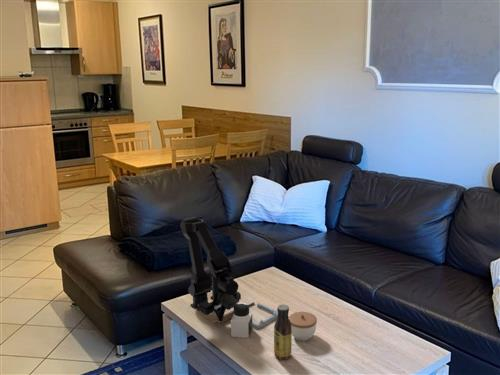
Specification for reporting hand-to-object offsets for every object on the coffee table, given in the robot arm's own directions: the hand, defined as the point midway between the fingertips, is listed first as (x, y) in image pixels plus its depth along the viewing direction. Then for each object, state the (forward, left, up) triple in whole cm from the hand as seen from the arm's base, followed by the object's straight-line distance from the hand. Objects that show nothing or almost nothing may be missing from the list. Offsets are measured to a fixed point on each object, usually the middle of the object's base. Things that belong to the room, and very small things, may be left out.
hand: (220, 320), depth 199 cm
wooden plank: (0, +8, -1) cm, 8 cm away
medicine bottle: (+12, +1, -1) cm, 12 cm away
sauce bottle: (+34, 0, -1) cm, 34 cm away
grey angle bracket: (+7, +14, -1) cm, 16 cm away
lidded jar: (+31, +15, -1) cm, 34 cm away
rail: (-1, +9, -1) cm, 9 cm away
